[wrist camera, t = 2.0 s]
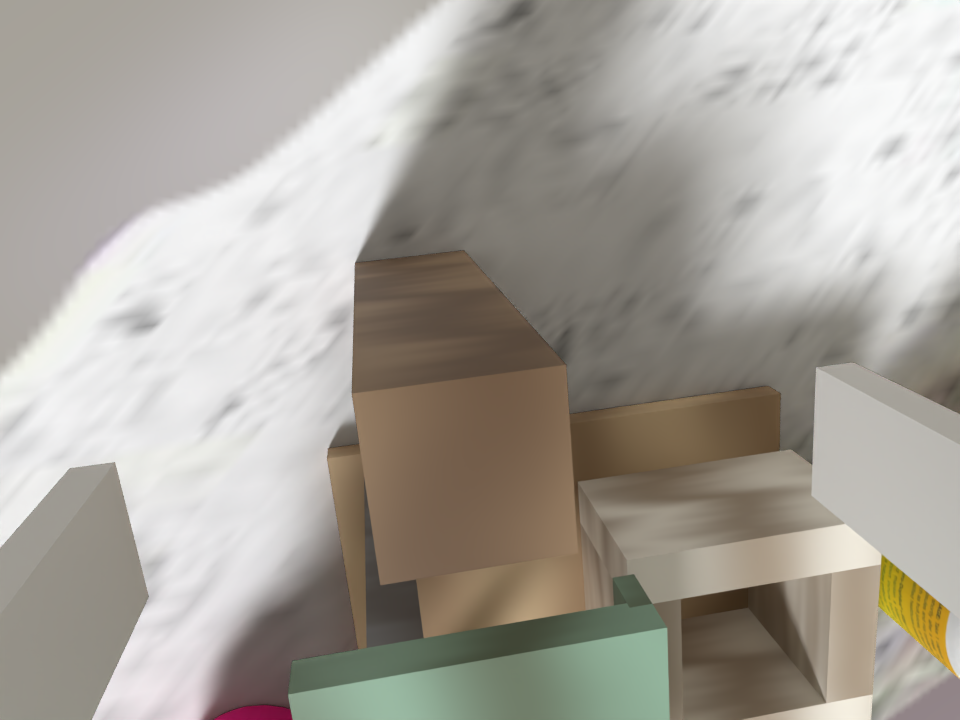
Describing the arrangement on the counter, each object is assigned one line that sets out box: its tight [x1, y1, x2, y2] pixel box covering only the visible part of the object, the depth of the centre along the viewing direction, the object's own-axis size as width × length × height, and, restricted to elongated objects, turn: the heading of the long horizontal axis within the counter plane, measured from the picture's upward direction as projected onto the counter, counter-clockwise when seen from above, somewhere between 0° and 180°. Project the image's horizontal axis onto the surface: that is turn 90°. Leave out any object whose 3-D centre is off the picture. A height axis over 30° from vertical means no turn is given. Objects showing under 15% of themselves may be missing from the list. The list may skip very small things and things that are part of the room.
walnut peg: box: [352, 250, 578, 585], centre depth 22 cm, size 4×4×15 cm
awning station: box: [288, 386, 882, 720], centre depth 27 cm, size 19×14×13 cm
